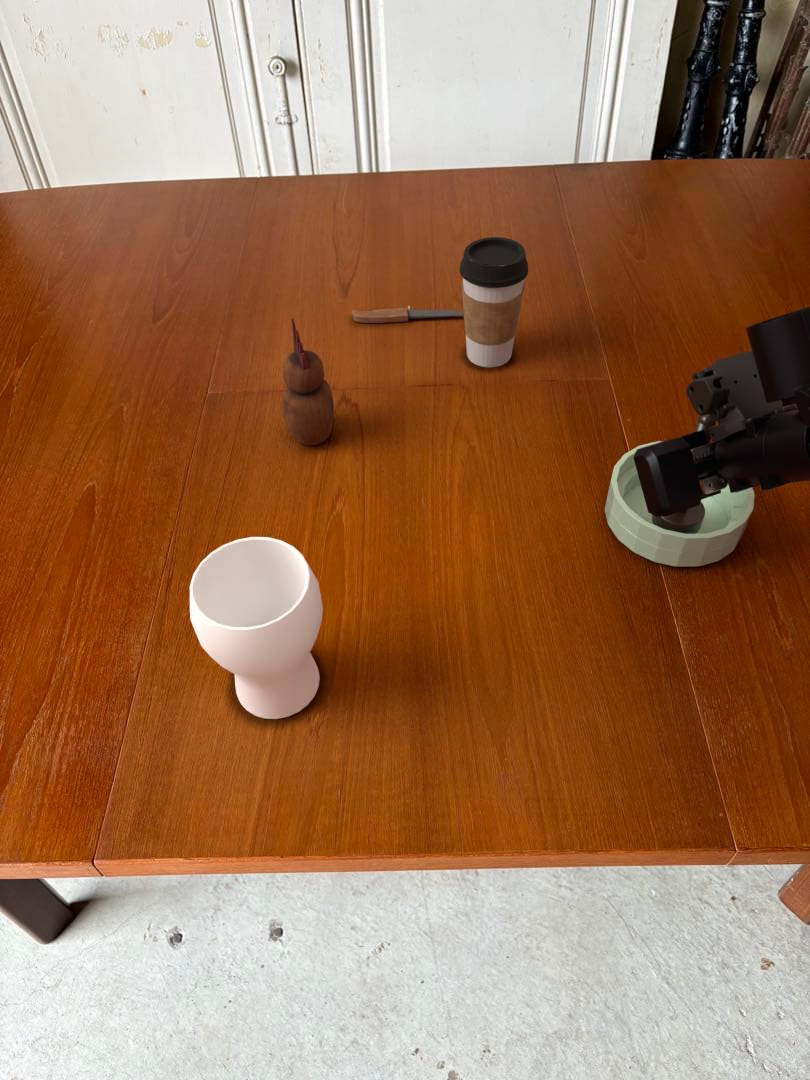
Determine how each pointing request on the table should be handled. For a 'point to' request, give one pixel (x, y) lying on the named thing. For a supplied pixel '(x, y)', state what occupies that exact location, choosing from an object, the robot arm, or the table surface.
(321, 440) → the wooden figurine
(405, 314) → the knife
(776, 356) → the robot arm
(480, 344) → the coffee cup
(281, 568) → the cup
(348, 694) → the table surface
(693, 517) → the joystick
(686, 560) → the mixing bowl
